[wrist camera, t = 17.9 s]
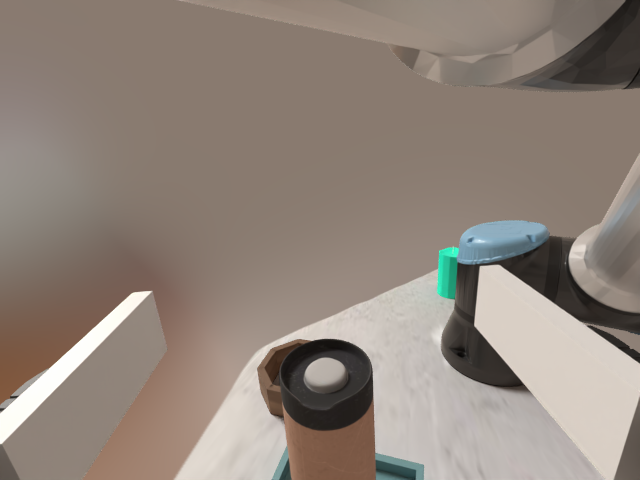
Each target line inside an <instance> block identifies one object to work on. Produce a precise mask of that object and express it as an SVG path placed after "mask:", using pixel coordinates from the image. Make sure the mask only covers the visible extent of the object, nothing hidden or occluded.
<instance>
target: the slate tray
mask: <svg viewBox="0 0 640 480" xmlns="http://www.w3.org/2000/svg"><path fill="white" fill-rule="evenodd" d="M375 462H376V480H424V465H422V464H418V463H414V462H410V461H406V460H402V459H398V458H394V457H390V456H386V455H382V454H378V453H375ZM272 480H292V479H291V471H290V463H289V455H288V447H286V449H285V451H284V454H283V456H282V458H281V460H280V462H279V465H278V467H277V469H276V471H275V473H274V476H273V478H272Z"/></svg>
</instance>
